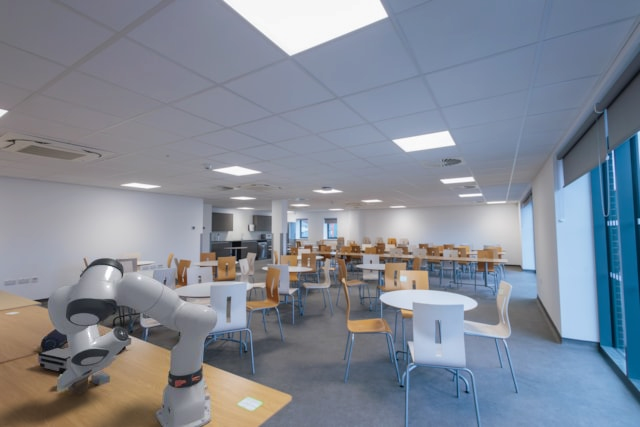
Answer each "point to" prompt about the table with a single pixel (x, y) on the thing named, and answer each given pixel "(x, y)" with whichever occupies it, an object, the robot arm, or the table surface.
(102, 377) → the grey flat brick
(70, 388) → the walnut column
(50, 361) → the game console
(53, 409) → the table surface
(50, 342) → the portable speaker
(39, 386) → the table surface
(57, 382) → the sage cube
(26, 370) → the table surface
